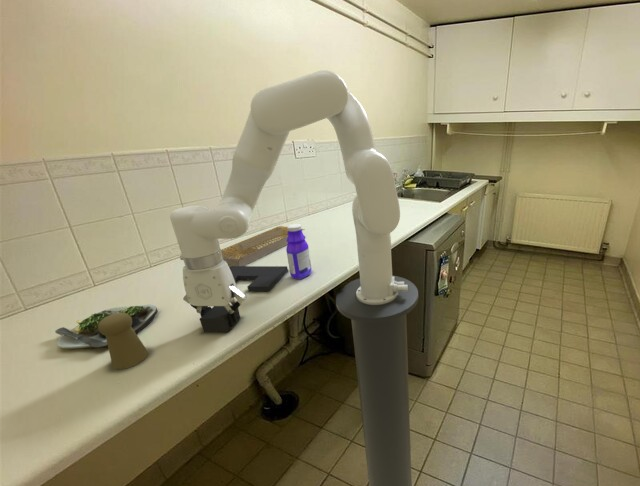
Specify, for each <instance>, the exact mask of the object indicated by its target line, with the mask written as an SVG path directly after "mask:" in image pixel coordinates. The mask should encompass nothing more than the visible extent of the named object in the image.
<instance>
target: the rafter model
mask: <svg viewBox="0 0 640 486" xmlns="http://www.w3.org/2000/svg"><path fill="white" fill-rule="evenodd" d="M287 227H288V226H284V225H283V226H282V225H277V227H274V228H271V229H268V230H267V231H264V232H261V233H259V234H256V235H253V236H252V237H249V238H247V239H244V240H241V241H239V242H236V243H235V244H231V245H229V246H227V247H225V248H221V253H222V257H223V261H226V263H227V264H228V266H229V267H231V266H248V265H249V264H251V263H253V262H255V261H257V260H259V259H261V258H263V257H265V256H267V255H269V254H272V253H274V252H275V251H277V250H279V249H282V248H283V247H285V246H286V247H287V244H288V242H287V237H288V228H287ZM302 231H305V228H302Z"/></svg>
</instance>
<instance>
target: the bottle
mask: <svg viewBox="0 0 640 486" xmlns="http://www.w3.org/2000/svg"><path fill="white" fill-rule="evenodd" d="M286 227H287V228H288V235H287V236H288V237H287V242H288V244H287V245H286V249H285V250H286V257H287V263H288V270H289V274H290V277H291V278H293V279H296V280H297V279H298V280H300V279H305V278H306V277H308V276H309V275H310V274H311V273H312V263H311V262H312V261H311V256H310V250H309V249H310V248H309V244H308V242H307V240H306V236H305V235H304V233H303V228H302V225H301V224H299V223H293V224H292V223H291V224H289V225H287V226H286Z"/></svg>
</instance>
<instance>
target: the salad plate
mask: <svg viewBox="0 0 640 486" xmlns="http://www.w3.org/2000/svg"><path fill="white" fill-rule="evenodd" d="M158 311H159V309H158V308H157V307H156V306H155V305H153V304H140V305H132V306H131V305H130V306H117V307H112V308H106V309H105V310H104V309H103V310H102V311H99V312H97V313H91V315H90V316H88V317H85V318H84V319H83V320H76V323H77V324H78V325H77V326H75V327H73V328H70V329H69V328H67V327H65V326H63V327H60V328H59V327H58V328H57V329H56V330H55V334H57V335H59V336H61V337H60V338H59V339H57V343H56V344H57V346H58V347H59V348H62V349H84V348H88V349H89V348H104V347H105V348H106V347H108V344H107V340H106V336H105V335H102V334H101V333H100V331H99V330H98V325H99V322H100V321H101V320H102V319H104V318H105V317H107V316H110V315H112V314H116V313H126V314H128V315H129V316H130V317H131V318H132V325H131V327H132V328H133V330H134V331H135V333H136V334H137V335H138V334H139V333H141V331H142V330H143V329H145V328H146V327H147V326H149V325H150V323H151V322H152V321H153V320H154V318H155V317H156V315H157V313H158Z"/></svg>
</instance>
